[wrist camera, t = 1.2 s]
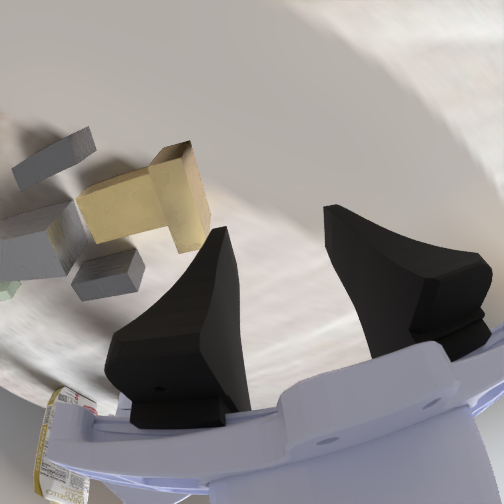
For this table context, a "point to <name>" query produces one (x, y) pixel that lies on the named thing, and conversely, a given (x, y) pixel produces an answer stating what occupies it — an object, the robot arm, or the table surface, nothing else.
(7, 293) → the pale green c-shaped piece
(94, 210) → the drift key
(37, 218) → the matte gray brick
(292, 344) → the table surface
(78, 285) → the socket
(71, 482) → the juice carton
